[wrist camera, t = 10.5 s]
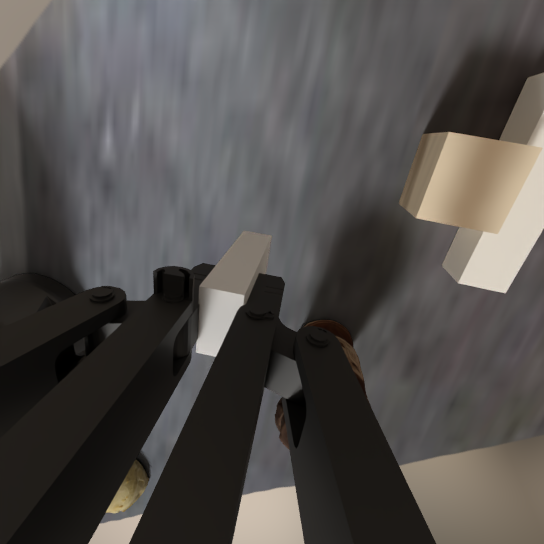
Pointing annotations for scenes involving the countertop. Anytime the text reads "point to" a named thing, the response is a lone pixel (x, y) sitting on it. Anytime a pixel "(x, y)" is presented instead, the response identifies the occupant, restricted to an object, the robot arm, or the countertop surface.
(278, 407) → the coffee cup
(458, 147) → the block
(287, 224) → the countertop surface
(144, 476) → the pastry
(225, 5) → the countertop surface
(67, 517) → the robot arm
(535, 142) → the white rectangular bar
